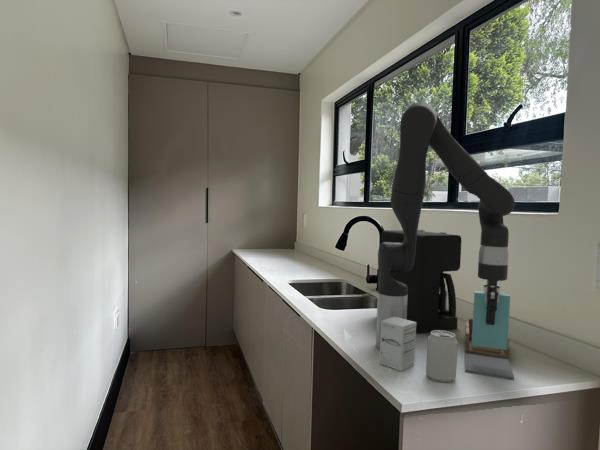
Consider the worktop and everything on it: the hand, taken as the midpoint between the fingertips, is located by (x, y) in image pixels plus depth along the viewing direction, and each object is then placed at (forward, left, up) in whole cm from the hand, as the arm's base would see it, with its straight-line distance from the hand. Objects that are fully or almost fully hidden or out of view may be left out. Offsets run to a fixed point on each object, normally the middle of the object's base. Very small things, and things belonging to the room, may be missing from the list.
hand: (489, 322), depth 119 cm
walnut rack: (+17, 0, -13) cm, 21 cm away
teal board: (0, 0, -7) cm, 7 cm away
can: (-14, +12, -13) cm, 22 cm away
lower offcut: (+15, 0, -12) cm, 19 cm away
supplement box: (-10, +24, -13) cm, 29 cm away
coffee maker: (+36, +22, -13) cm, 44 cm away
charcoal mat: (0, 0, -13) cm, 13 cm away
